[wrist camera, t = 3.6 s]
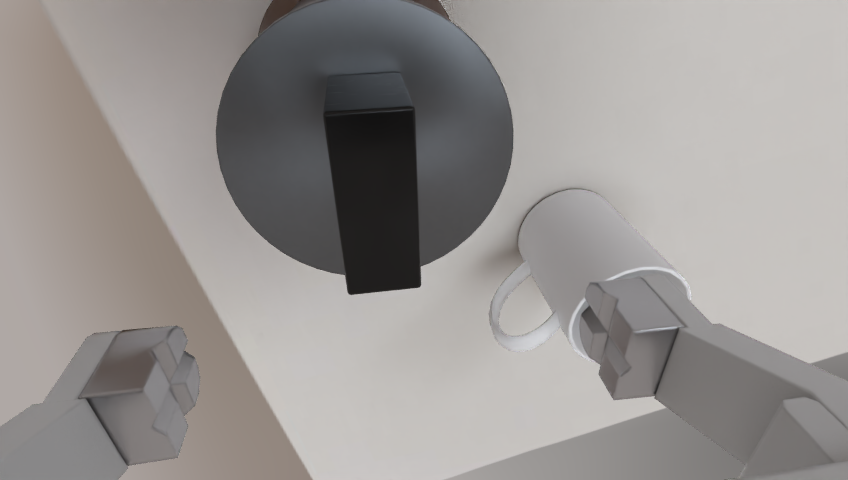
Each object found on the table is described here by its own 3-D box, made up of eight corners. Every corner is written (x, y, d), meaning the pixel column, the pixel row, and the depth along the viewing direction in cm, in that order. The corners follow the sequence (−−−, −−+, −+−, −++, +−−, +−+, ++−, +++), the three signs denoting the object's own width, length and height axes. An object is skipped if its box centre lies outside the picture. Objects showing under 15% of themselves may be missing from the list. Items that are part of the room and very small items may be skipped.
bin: (284, 166, 30) (230, 362, 16) (247, -24, 24) (112, 21, 10) (449, 153, 31) (534, 326, 17) (450, -31, 26) (579, 1, 11)
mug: (606, 172, 36) (692, 248, 27) (616, 252, 40) (692, 340, 31) (454, 227, 36) (488, 318, 27) (479, 300, 41) (516, 399, 32)
